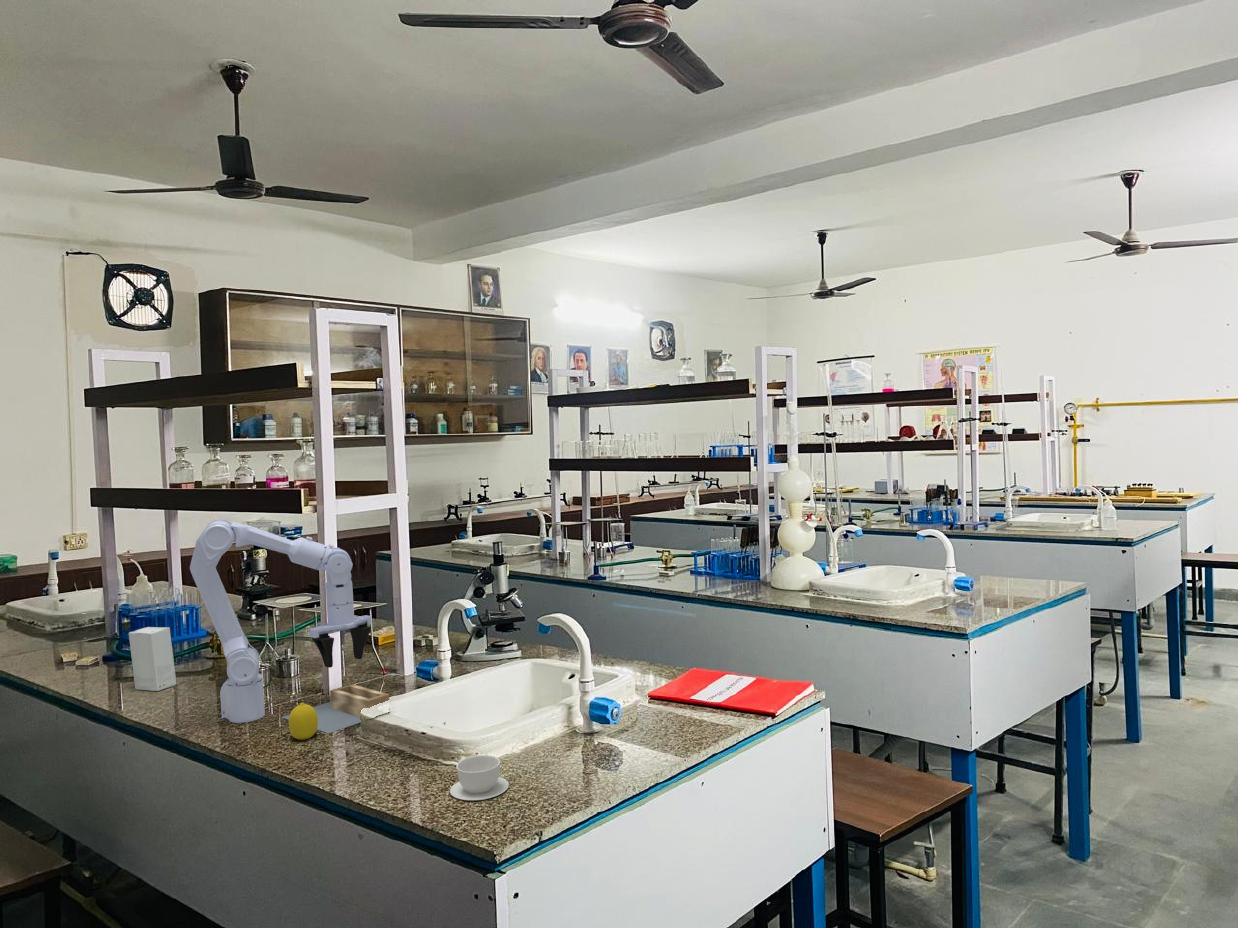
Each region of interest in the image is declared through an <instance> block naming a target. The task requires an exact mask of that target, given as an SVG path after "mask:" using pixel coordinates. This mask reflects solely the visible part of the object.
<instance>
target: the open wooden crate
mask: <svg viewBox="0 0 1238 928" xmlns="http://www.w3.org/2000/svg"><path fill="white" fill-rule="evenodd" d="M329 694H330V695H329V696H330V702H331V708H332V709H335V710H338V711H341V712H345V713H348V714H351V715H354V716H358V717H360V712H361V710H362V709H363V708H370V707H372V706H374V705H377V704H379V703H383V702H385V701H388V700H390V694H389V693H386V692H383V691H382V692H381V691H380V690H379V691H378V690H374V689H371V688H368V687H363V686H360V685H356V684H352V683H350V684H347V685H343V686H341V687H337V688H333V689H331V690H329Z"/></svg>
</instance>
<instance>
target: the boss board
mask: <svg viewBox="0 0 1238 928" xmlns="http://www.w3.org/2000/svg"><path fill="white" fill-rule="evenodd" d="M312 707H313V708H314V709H315V711H316V714H317V717H318V727H317V730H318V731H320V732H322V733H326V734H331V733H335V732H336V731H340V730H343V729H345V728H348V727H351V726H354V725H357V724H360V723H362V722H361V720H360V717H358V716H354V715H351V714H348V713H345V712H341V711H338V710H335V709H332V708H331V701H328V702H326V703H322V704H319V705H316V706H312ZM289 716H290V714H288V715H284V716H281V718H283V719H285V720H287V721H289ZM317 730H316V731H317Z"/></svg>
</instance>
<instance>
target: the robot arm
mask: <svg viewBox="0 0 1238 928" xmlns="http://www.w3.org/2000/svg"><path fill="white" fill-rule="evenodd" d="M202 530H203V531H202V532H201V533H200V535H199V536H198V537H197V539H196V541H195V545H194V549H193V553H192V557H191V561H190V565H189V571H190V573H191V575H192V579H193V580H194V583H195V585H196V588H197V589H198V592H199V594H200V597H201V599H202V601H203V603H204V606H205V609H206V611H207V613H208V616H209V618H210V620H211V622H212V625H213V627H214V629H215V631H216V634H217V636H218V639H219V640H220V643H221V646H222V650H223V654H224V657H225V660H226V662H227V665H226V675H227V677H228V678H227V679H226V680H225V681H224V682H223V684H222V686H221V688H220V692H219V696H220V710H221V712H220V713H221V718H219V720H221V719H227V720H228V721H229V722H230V723H235V724H236V723H237V724H240V723H248V722H254V721H257V720H259V719H261V718H264V716H265V715H266V709H265V697H264V696H265V695H264V681H263V674H261V673H259V672H260V664H259V663H260V660H261V658H260V653H259V651H258V650H257V649H256V648H255V647H254V646H252V645H251V644H250V642H249V640H248V638H247V636H246V635H245V633H244V632H243V629H242V626H241V623H240V622H239V619H238V616H237V614H236V612H235V610H234V608H233V605H232V603H231V601H230V598H229V596H228V593H227V591H226V589H225V586H224V584H223V582H222V580H221V577H220V575H219V572H218V571H217V566H218V563H219V562H220V560H221V558H222V556H223V555H224V554H226V552H227V551H228V550H229V549H230V548H231V547H232V545H233V543H235V548H239V547H244V546H248V545H253V546H256V547H260V548H263V549H267V550H270V551H275V552H277V553H280V554H285V555H287V557H288V558H289V560H290V562H292V563H293V564H297V565H301V566H303V567H307V568H310V569H313V570H315V571H316V570H317V571H322V570H324V571H325V576H326V582H325V595H326V596H325V597H326V612H327V613H326V615H327V622H325V623H322V624H320V625H317V626H315V627H314V626H313V627H309V635H310V636H309V637H310V638H312V639H311V640H312V641H313V642H314V644H315V646H316V648H317V650H318V651H319V653H320V656H321V658H322V661H323V665H324V667H325V668H333V665H334V659H333V657H334V655H333V647H334V642H335V638H334V637H331V636H330V635H329V634H335V633H339V632H343V631H346V630H349V632H350V636H351V639H352V640H351V641H352V649H353V651H352V652H353V657H354V659H357V660H361V659H363V655H364V650H365V646H366V642H367V640H368V638H369V635H370V634H371V632H372V630H371V625H372V624H373V623H372V616H371V615H367V614H366V615H361V616H355V610H354V607H355V605H354V592H353V581H352V573H351V571H352V569H353V565H354V564H353V562H352V559H351V556H350V554H349V553H348V552H347V551H346V550H344V549H341V548H340V547H335V546H334V545H333V544H328V545H326V544H323V543H320V542H317V541H313V537H311V536H306V538H305V537H298V538H297V539H294V540H292V539H289V538H286V537H283V536H280V535H277V534H274V533H272V532H270V531H266V530H264V529H260V528H258V527H255V526H252V525H249V524H245V523H241V522H237V521H232V523H231V522H230V521H229V520H227V519H222V518H220V519H219V518H218V519H214V520H212V521H210V522H209V523H207V525H206V526H205V528H204V529H202Z"/></svg>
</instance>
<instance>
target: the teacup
mask: <svg viewBox="0 0 1238 928" xmlns="http://www.w3.org/2000/svg"><path fill="white" fill-rule="evenodd" d="M500 770H501V759H499V757H496V756H494V755H488V754H484V755H483V754H482V755H481V754H480V755H472V756H468V757H465V758H463V759H461V760H460V761H458V762H457V763H456V772H457V773H456V774H457V778H458V781H456V782H455V783H454V784H453V785H452V786H451V787H450V789H449V794H450V795H451V796H452V797H453V798H456V799H458V800H463V801H483V800H487V799H488V800H489V799H491V798H494V797H495V798H496V797H497V796H499V795H501V794H503V793H504V792H506V791H507V790H508V789H509V787H510V782H509V781H508V780H507V779H505V778H504V777H501V776H500V772H501V771H500Z"/></svg>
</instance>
